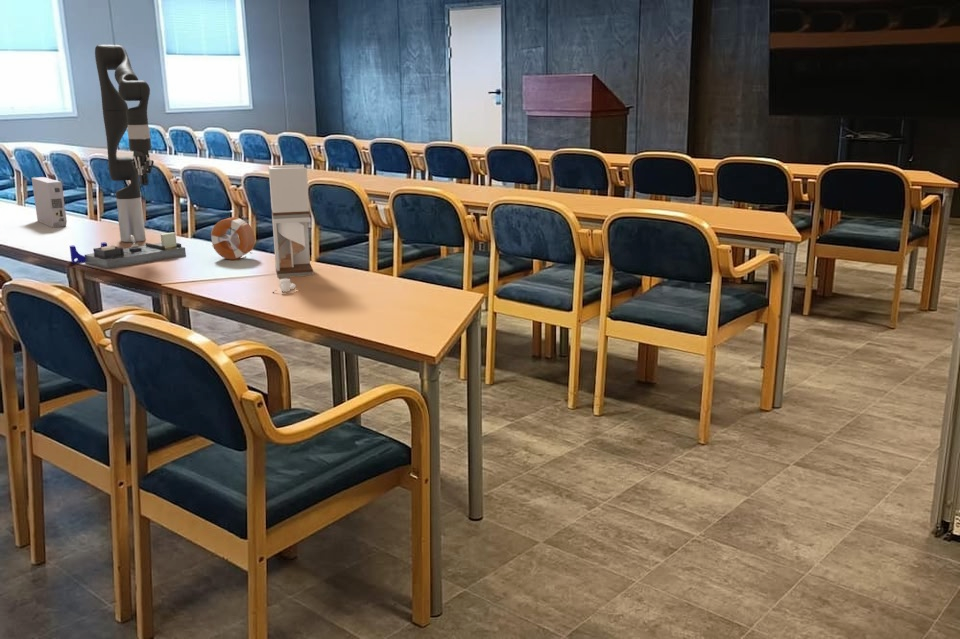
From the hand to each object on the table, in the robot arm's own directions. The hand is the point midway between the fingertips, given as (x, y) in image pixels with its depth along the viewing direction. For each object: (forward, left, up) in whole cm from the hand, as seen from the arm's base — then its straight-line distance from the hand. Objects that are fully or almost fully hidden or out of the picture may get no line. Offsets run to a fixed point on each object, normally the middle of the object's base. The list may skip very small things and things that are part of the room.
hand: (144, 185), depth 328 cm
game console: (-97, +7, -25) cm, 101 cm away
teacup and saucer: (+93, -5, -26) cm, 97 cm away
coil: (+36, +12, -25) cm, 46 cm away
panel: (+9, -11, -25) cm, 29 cm away
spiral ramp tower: (+73, +10, -25) cm, 78 cm away
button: (+9, -21, -22) cm, 32 cm away
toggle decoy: (+9, -11, -20) cm, 25 cm away
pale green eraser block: (+13, 0, -22) cm, 25 cm away
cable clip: (-3, -22, -25) cm, 34 cm away
